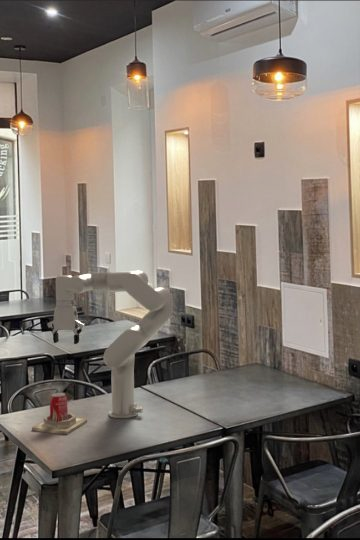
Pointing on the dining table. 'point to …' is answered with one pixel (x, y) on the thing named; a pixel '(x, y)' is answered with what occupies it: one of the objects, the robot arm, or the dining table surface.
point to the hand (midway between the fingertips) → (66, 342)
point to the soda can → (58, 407)
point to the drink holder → (60, 425)
